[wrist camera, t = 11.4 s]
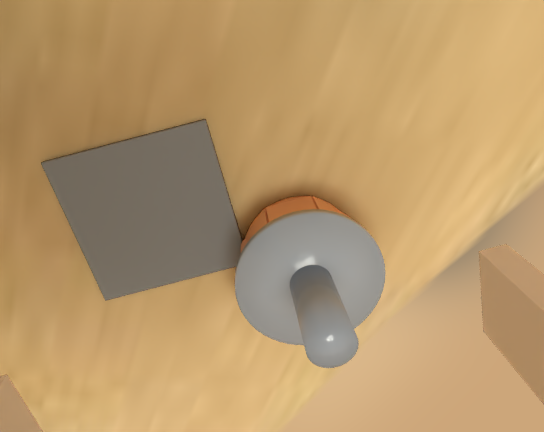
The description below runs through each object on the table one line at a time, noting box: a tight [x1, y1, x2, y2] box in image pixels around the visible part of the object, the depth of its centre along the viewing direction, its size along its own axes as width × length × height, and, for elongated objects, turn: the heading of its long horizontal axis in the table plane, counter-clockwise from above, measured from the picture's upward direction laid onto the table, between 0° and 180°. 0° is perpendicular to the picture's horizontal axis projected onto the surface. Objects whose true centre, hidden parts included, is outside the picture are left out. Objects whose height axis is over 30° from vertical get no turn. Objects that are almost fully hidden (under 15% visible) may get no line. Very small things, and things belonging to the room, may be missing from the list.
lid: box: [235, 209, 385, 368], centre depth 35 cm, size 13×13×9 cm
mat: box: [41, 119, 242, 301], centre depth 41 cm, size 14×14×1 cm
